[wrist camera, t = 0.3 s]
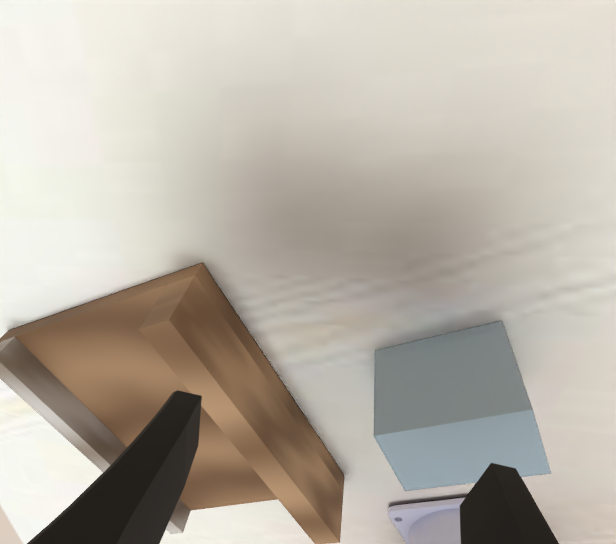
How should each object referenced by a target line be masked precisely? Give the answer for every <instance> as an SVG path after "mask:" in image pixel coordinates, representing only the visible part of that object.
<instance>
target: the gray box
mask: <svg viewBox="0 0 616 544" xmlns="http://www.w3.org/2000/svg"><path fill="white" fill-rule="evenodd" d="M374 437H375V439H376V441H377V443H378V444H379V446H380V448H381V450H382V451H383V453H384V455H385V457H386V458H387V460H388V462H389V464H390V465H391V467H392V469H393V471H394V472H395V474H396V476H397V478H398V479H399V481H400V483H401V485H402V486H403V488H404V490H405V491H410V490H418V489H426V488H434V487H443V486H451V485H459V484H467V483H476V482H477V481H478V480H479V479H480V477H481V476H482V474H483V473H484V472H485V470H486V469H487V468H488V466H489V465H490V463H495V464H499V465H503V466H508V467H512V468H516V470H517V471H518V473H519V475H520V477H525V476H533V475H542V474H550V473H551V471H550V468H549V464H548V461H547V457H546V454H545V451H544V447H543V444H542V440H541V437H540V433H539V430H538V426H537V423H536V419H535V416H534V412H533V409H532V406H531V403H530V400H529V397H528V394H527V392H526V389H525V386H524V383H523V380H522V377H521V374H520V371H519V368H518V365H517V362H516V359H515V357H514V354H513V351H512V348H511V345H510V342H509V339H508V336H507V333H506V330H505V327H504V325H503V322H502V321H498V322H494V323H490V324H486V325H481V326H477V327H473V328H468V329H464V330H460V331H456V332H451V333H447V334H443V335H439V336H434V337H430V338H426V339H422V340H417V341H413V342H409V343H404V344H400V345H396V346H392V347H387V348H383V349H379V350H375V380H374Z"/></svg>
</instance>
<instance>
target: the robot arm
mask: <svg viewBox="0 0 616 544" xmlns="http://www.w3.org/2000/svg"><path fill="white" fill-rule="evenodd" d="M201 400H202V396H200V395H196V394H192V393H187V392H183V391H179V390H177V391H175V392H173V393H172V394H171V396H170V397H169V398H168V400H167V401H166V402H165V404H164V405H163V406H162V407H161V409H160V410H159V411H158V412H157V414H156V415H155V416H154V417H153V419H152V420H151V421H150V422H149V423H148V425H147V426H146V427H145V428H144V429H143V430H142V431H141V433H140V434H139V435H138V436H137V437H136V438H135V439H134V441H133V442H132V443H131V444H130V445H129V446H128V447H127V448H126V449H125V450H124V451H123V452H122V453H121V455H120V456H119V457H118V458H117V459H116V460H115V461H114V462H113V463H112V464H111V465H110V466H109V467H108V468H107V469H106V471H105V472H104V473H103V474H102V475H101V476H99V477H98V478H97V479H96V480H95V481H94V482H93V483H92V484H91V485H90V486H89V487H88V488H87V489H86V490H85V491H84V492H83V493H82V494H81V495H80V496H79V497H78V498H77V499H76V500H75V501H74V502H73V503H72V504H71V505H70V506H69V507H68V508H67V509H65V510H64V511H63V512H62V513H61V514H60V515H59V516H58V517H57V518H56V519H55V520H53V521H52V522H51V523H50V524H49V525H48V526H47V527H46V528H44V529H43V530H42V531H41V532H40V533H39V534H38V535H36V536H35V537H34V538H33V539H32V540H31V541H30V542H28V543H27V544H159V543H160V541H161V538H162V536H163V534H164V532H165V530H166V527H167V525H168V523H169V521H170V518H171V516H172V514H173V512H174V509H175V507H176V505H177V503H178V500H179V498H180V496H181V493H182V491H183V489H184V487H185V484H186V481H187V478H188V475H189V472H190V469H191V466H192V463H193V460H194V457H195V454H196V451H197V448H198V442H199V428H200V414H201ZM388 516H389V517H390V519H391V520H392V522H393V523H394V525H395V527H396V528H397V530H398V531H399V533H400V534H401V536H402V538H403V539H404V541H405V542H406V544H559V543H558V541H557V540H556V538H555V536H554V534H553V533H552V531H551V529H550V527H549V526H548V524H547V522H546V520H545V519H544V517H543V515H542V513H541V512H540V510H539V508H538V506H537V505H536V503H535V501H534V499H533V498H532V496H531V494H530V492H529V491H528V489H527V487H526V485H525V484H524V482H523V480H522V478H521V477H520V475H519V473H518V471H517V470H516V468H512V467H508V466H503V465H499V464H495V463H490V465H489V466H488V468H487V469H486V470H485V472H484V473H483V474H482V476H481V477H480V479H479V480H478V481H477V483H476V484H475V485H474V487H473V488H472V490H471V491H470V492H469V494H468V495H467V496H466V498H457V499H448V500H439V501H430V502H421V503H412V504H403V505H394V506H391V507H389V508H388Z"/></svg>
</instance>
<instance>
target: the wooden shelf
mask: <svg viewBox="0 0 616 544" xmlns="http://www.w3.org/2000/svg"><path fill="white" fill-rule="evenodd" d="M0 379H1V380H2V381H3V382H4V383H6V384H7V385H8V386H9V387H10V388H11V389H12V390H13V391H14V392H15V393H17V394H18V395H19V396H20V397H21V398H22V399H23V400H24V401H25V402H26V403H28V404H29V405H30V406H31V407H32V408H33V409H34V410H35V411H36V412H37V413H39V414H40V415H41V416H42V417H43V418H44V419H45V420H46V421H47V422H48V423H50V424H51V425H52V426H53V427H54V428H55V429H56V430H57V431H58V432H59V433H61V434H62V435H63V436H64V437H65V438H66V439H67V440H68V441H69V442H70V443H72V444H73V445H74V446H75V447H76V448H77V449H78V450H79V451H80V452H81V453H83V454H84V455H85V456H86V457H87V458H88V459H89V460H90V461H91V462H92V463H94V464H95V465H96V466H97V467H98V468H99V469H100V470H101V471H102V472H103V473H104V472H105V471H106V469H107V468H108V467H109V466H110V465H111V464H112V463H113V462H114V461H115V460H116V459H117V458H118V457H119V456H120V455H121V453H122V452H123V451H124V450H125V449H126V448H127V447H128V446H129V445H130V444H131V443H132V442H133V441H134V439H135V438H136V437H137V436H138V435H139V434H140V433H141V431H142V430H143V429H144V428H145V427H146V426H147V425H148V423H149V422H150V421H151V420H152V419H153V417H154V416H155V415H156V414H157V412H158V411H159V410H160V409H161V407H162V406H163V405H164V404H165V402H166V401H167V400H168V398H169V397H170V396H171V394H172V393H173V392H175V391H177V390H179V391H183V392H187V393H192V394H196V395H200V396H202V400H201V414H200V428H199V442H198V448H197V451H196V454H195V457H194V460H193V463H192V466H191V469H190V472H189V475H188V478H187V481H186V484H185V487H184V489H183V491H182V493H181V496H180V498H179V500H178V503H177V505H176V507H175V509H174V512H173V514H172V516H171V518H170V521H169V523H168V525H167V527H166V530H167V531H168V532H169V533H171V534H175V533H183V531H184V528H185V525H186V522H187V519H188V516H189V513H190V511H191V510H197V509H205V508H213V507H221V506H229V505H236V504H244V503H252V502H260V501H268V500H275V499H279V501H280V502H281V503H282V504H283V506H284V507H285V508H286V509H287V510H288V512H289V513H290V514H291V515H292V517H293V518H294V519H295V520H296V521H297V523H298V524H299V525H300V526H301V527H302V529H303V530H304V531H305V532H306V534H307V535H308V536H309V537H310V538H311V540H312V541H313V542H314V543H315V544H326V543H337V542H340V532H341V517H342V503H343V488H344V474H343V473H342V471H341V470H340V468H339V467H338V465H337V464H336V462H335V461H334V459H333V458H332V456H331V455H330V453H329V452H328V450H327V449H326V447H325V446H324V444H323V443H322V441H321V440H320V438H319V437H318V435H317V434H316V432H315V431H314V429H313V428H312V426H311V425H310V423H309V422H308V420H307V419H306V417H305V416H304V414H303V413H302V411H301V410H300V408H299V407H298V405H297V404H296V402H295V401H294V399H293V398H292V396H291V395H290V393H289V392H288V390H287V389H286V387H285V386H284V384H283V383H282V381H281V380H280V378H279V377H278V375H277V374H276V372H275V371H274V369H273V368H272V366H271V365H270V363H269V362H268V360H267V359H266V357H265V356H264V354H263V353H262V351H261V350H260V348H259V347H258V345H257V344H256V342H255V341H254V339H253V338H252V336H251V335H250V333H249V332H248V330H247V329H246V327H245V326H244V324H243V323H242V321H241V320H240V318H239V317H238V315H237V314H236V312H235V311H234V309H233V308H232V306H231V305H230V303H229V302H228V300H227V299H226V297H225V296H224V294H223V293H222V291H221V290H220V288H219V287H218V285H217V284H216V282H215V281H214V279H213V278H212V276H211V275H210V273H209V272H208V270H207V269H206V267H205V266H204V264H203V263H200V264H198V265H195V266H192V267H189V268H186V269H183V270H180V271H178V272H175V273H172V274H169V275H166V276H163V277H160V278H158V279H155V280H152V281H149V282H146V283H143V284H140V285H138V286H135V287H132V288H129V289H126V290H123V291H120V292H118V293H115V294H112V295H109V296H106V297H103V298H100V299H97V300H95V301H92V302H89V303H86V304H83V305H80V306H77V307H75V308H72V309H69V310H66V311H63V312H60V313H57V314H55V315H52V316H49V317H46V318H43V319H40V320H37V321H35V322H32V323H29V324H26V325H23V326H20V327H17V328H15V329H12V330H9V331H7V332H6V333H5V334H4V335H3V336H2V337H1V338H0Z"/></svg>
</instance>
